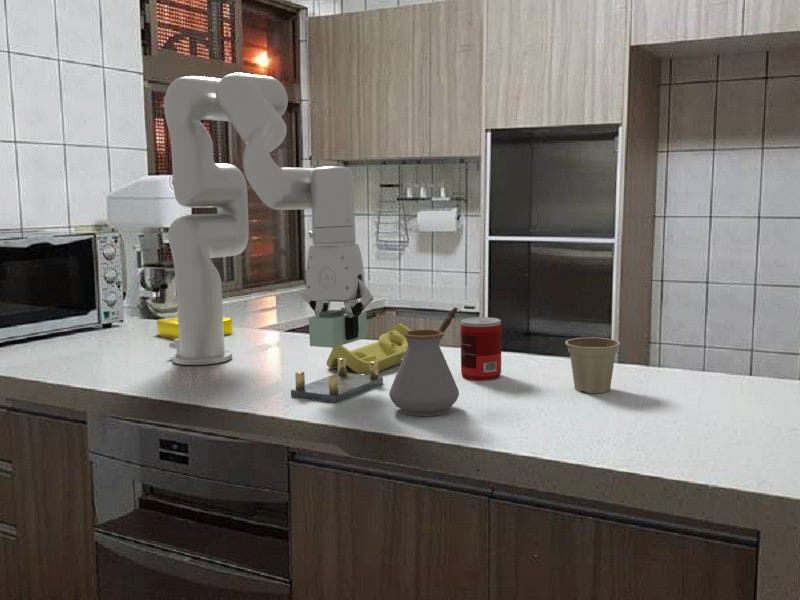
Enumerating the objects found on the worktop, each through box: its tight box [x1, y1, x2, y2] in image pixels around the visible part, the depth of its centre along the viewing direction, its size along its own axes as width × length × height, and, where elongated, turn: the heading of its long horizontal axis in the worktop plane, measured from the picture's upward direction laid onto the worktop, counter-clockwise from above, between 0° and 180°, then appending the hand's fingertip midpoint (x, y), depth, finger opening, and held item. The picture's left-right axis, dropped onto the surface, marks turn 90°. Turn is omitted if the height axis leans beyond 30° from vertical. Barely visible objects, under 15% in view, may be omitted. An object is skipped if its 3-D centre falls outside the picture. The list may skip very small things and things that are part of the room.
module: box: [308, 306, 368, 349], centre depth 142 cm, size 5×11×6 cm, turn 150°
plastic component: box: [326, 323, 412, 375], centre depth 165 cm, size 20×7×10 cm
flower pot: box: [564, 336, 621, 394], centre depth 140 cm, size 9×9×9 cm
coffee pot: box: [389, 306, 463, 417], centre depth 133 cm, size 21×12×15 cm, turn 155°
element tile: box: [156, 316, 234, 340], centre depth 206 cm, size 15×15×5 cm
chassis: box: [290, 358, 384, 404], centre depth 144 cm, size 10×16×4 cm, turn 150°
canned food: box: [460, 316, 502, 382], centre depth 152 cm, size 8×8×11 cm
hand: (338, 336), depth 143 cm, fingers closed on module, 5 cm apart
